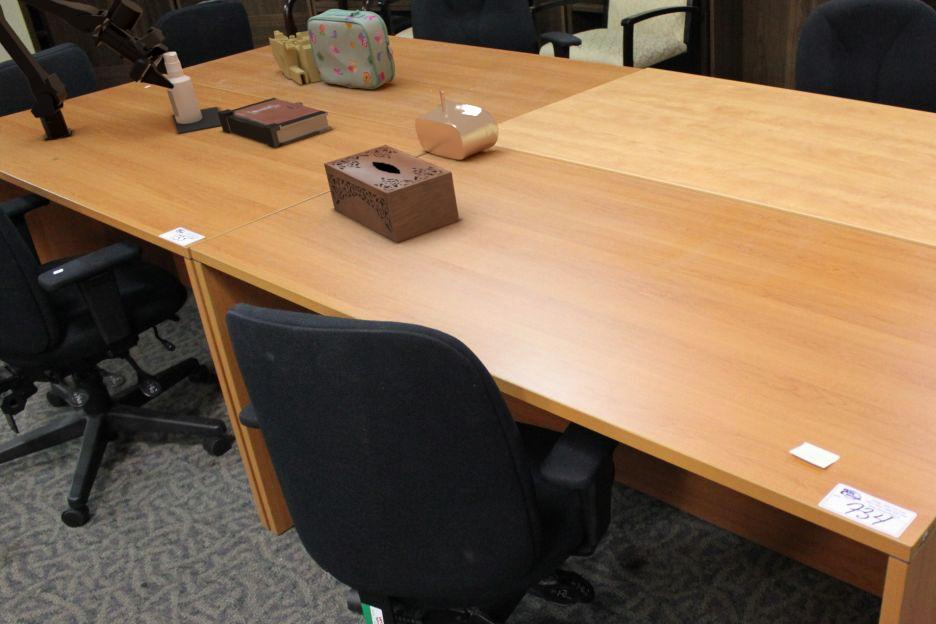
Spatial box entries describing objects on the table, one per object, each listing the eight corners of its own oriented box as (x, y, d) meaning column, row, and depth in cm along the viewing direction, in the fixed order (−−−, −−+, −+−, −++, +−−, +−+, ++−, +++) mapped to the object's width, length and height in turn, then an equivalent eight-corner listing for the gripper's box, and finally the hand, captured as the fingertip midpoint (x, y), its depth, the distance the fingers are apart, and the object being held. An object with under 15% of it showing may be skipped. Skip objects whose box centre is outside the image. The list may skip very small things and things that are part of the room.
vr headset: (502, 150, 228) (494, 88, 220) (466, 164, 221) (457, 101, 213) (451, 137, 239) (442, 78, 231) (415, 151, 232) (405, 90, 224)
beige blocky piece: (353, 24, 293) (287, 29, 284) (361, 78, 299) (297, 85, 290) (328, 25, 312) (266, 31, 303) (337, 76, 318) (276, 83, 309)
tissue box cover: (334, 209, 203) (323, 163, 198) (394, 189, 211) (385, 144, 205) (396, 242, 186) (386, 193, 181) (459, 220, 194) (451, 172, 188)
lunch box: (405, 83, 285) (391, 6, 273) (381, 93, 278) (366, 14, 266) (340, 76, 298) (324, 2, 286) (315, 85, 291) (298, 10, 279)
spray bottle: (193, 115, 271) (173, 49, 261) (207, 118, 267) (188, 51, 258) (171, 122, 266) (150, 55, 257) (186, 125, 263) (165, 57, 253)
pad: (173, 115, 274) (172, 114, 273) (216, 107, 277) (216, 106, 277) (178, 134, 258) (178, 132, 258) (224, 125, 262) (224, 124, 262)
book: (333, 128, 252) (329, 109, 249) (275, 148, 242) (269, 128, 239) (280, 113, 268) (275, 95, 265) (222, 130, 257) (217, 112, 255)
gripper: (126, 27, 244) (183, 68, 251) (149, 12, 260) (202, 51, 266) (105, 62, 248) (162, 101, 255) (129, 45, 264) (182, 82, 270)
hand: (178, 82), depth 261 cm, fingers open, 9 cm apart
